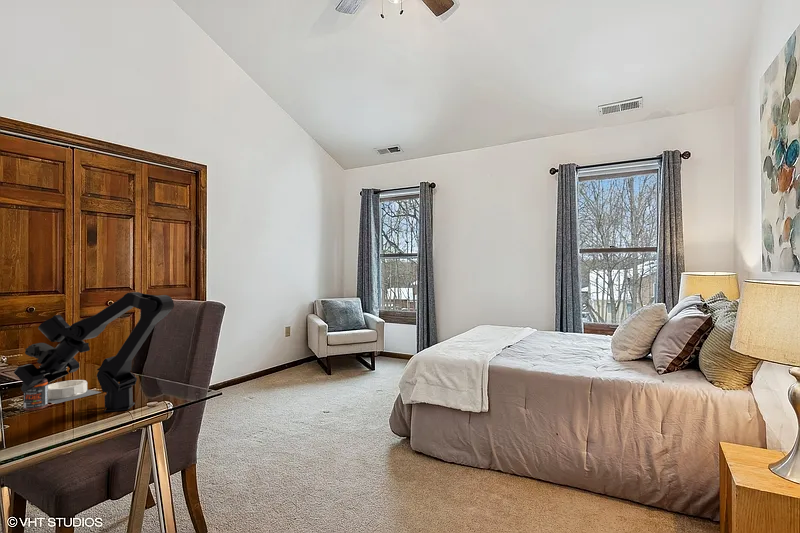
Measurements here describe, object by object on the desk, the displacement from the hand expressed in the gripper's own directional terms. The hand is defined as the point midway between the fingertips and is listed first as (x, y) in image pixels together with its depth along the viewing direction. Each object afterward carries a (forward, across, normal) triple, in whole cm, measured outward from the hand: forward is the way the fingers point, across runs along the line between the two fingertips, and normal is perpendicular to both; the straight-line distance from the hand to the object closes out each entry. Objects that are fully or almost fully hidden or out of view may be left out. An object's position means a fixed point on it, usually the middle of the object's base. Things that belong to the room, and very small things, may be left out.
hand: (31, 387), depth 137 cm
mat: (+5, -14, +4) cm, 15 cm away
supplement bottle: (+4, 0, +6) cm, 7 cm away
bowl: (+5, -14, +4) cm, 15 cm away
